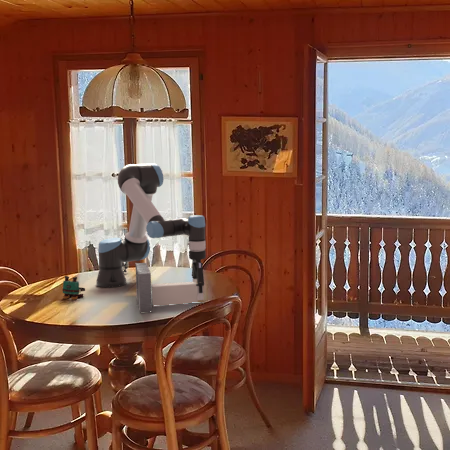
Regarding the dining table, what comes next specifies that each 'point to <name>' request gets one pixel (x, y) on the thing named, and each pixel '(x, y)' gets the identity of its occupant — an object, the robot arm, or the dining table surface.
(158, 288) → the grey rectangular block
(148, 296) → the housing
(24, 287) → the dining table surface
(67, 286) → the binoculars
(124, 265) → the valve
